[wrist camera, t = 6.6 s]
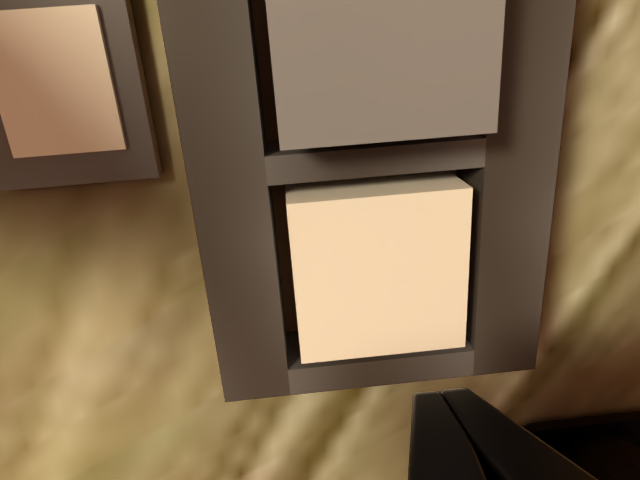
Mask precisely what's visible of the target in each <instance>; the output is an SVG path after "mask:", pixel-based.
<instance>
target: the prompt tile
mask: <svg viewBox="0 0 640 480" xmlns="http://www.w3.org/2000/svg"><path fill="white" fill-rule="evenodd" d="M162 174H163V171H162V166H161V161H160V156H159V150H158V145H157V140H156V134H155V129H154V124H153V118H152V113H151V108H150V103H149V97H148V92H147V87H146V81H145V76H144V71H143V65H142V60H141V55H140V50H139V44H138V39H137V34H136V28H135V23H134V18H133V12H132V7H131V2H130V0H0V191H8V190H19V189H31V188H43V187H55V186H67V185H79V184H91V183H103V182H114V181H126V180H138V179H150V178H159V177H160V176H161V175H162Z"/></svg>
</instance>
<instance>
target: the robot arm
mask: <svg viewBox="0 0 640 480" xmlns="http://www.w3.org/2000/svg"><path fill="white" fill-rule="evenodd" d="M408 480H640V411H637V412H628V413H620V414H611V415H602V416H593V417H584V418H575V419H566V420H557V421H549V422H540V423H532V424H528V425H526V426H524V427H522V426H520V425H519V424H518V423H516V422H515V421H513V420H512V419H510V418H509V417H508V416H506V415H505V414H503V413H502V412H500V411H499V410H498V409H496V408H495V407H493V406H492V405H490V404H489V403H488V402H486V401H485V400H483V399H482V398H481V397H479V396H478V395H476V394H475V393H473V392H472V391H471V390H469V389H467V388H454V389H445V390H442V391H441V392H438V391H427V392H418V393H415V394H414V395H413V403H412V419H411V436H410V452H409V468H408Z"/></svg>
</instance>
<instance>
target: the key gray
mask: <svg viewBox="0 0 640 480" xmlns="http://www.w3.org/2000/svg"><path fill="white" fill-rule="evenodd" d="M265 2H266V12H267V22H268V32H269V43H270V53H271V63H272V73H273V84H274V94H275V104H276V114H277V125H278V135H279V145H280V151H283V150H295V149H307V148H319V147H331V146H343V145H355V144H368V143H380V142H392V141H404V140H416V139H428V138H440V137H452V136H464V135H477V134H489V133H497V127H498V111H499V96H500V80H501V65H502V49H503V33H504V18H505V2H506V0H265Z"/></svg>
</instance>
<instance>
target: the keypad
mask: <svg viewBox="0 0 640 480" xmlns="http://www.w3.org/2000/svg"><path fill="white" fill-rule="evenodd" d="M157 5H158V11H159V17H160V23H161V29H162V34H163V40H164V46H165V52H166V58H167V64H168V70H169V75H170V81H171V87H172V93H173V99H174V105H175V111H176V116H177V122H178V128H179V134H180V140H181V146H182V152H183V157H184V163H185V169H186V175H187V181H188V187H189V193H190V198H191V204H192V210H193V216H194V222H195V228H196V234H197V239H198V245H199V251H200V257H201V263H202V269H203V275H204V280H205V286H206V292H207V298H208V304H209V310H210V316H211V321H212V327H213V333H214V339H215V345H216V351H217V357H218V362H219V368H220V374H221V380H222V386H223V392H224V398H225V402H231V401H240V400H250V399H259V398H268V397H278V396H287V395H296V394H306V393H315V392H325V391H334V390H343V389H353V388H362V387H371V386H381V385H390V384H399V383H409V382H418V381H427V380H437V379H446V378H455V377H465V376H474V375H483V374H493V373H502V372H511V371H521V370H530V369H535V365H536V356H537V347H538V338H539V329H540V320H541V311H542V302H543V294H544V285H545V276H546V267H547V258H548V249H549V240H550V231H551V222H552V213H553V204H554V195H555V186H556V177H557V169H558V160H559V151H560V142H561V133H562V124H563V115H564V106H565V97H566V88H567V79H568V70H569V61H570V53H571V44H572V35H573V26H574V17H575V8H576V0H506V2H505V18H504V33H503V49H502V65H501V80H500V96H499V111H498V127H497V133H489V134H477V135H464V136H452V137H440V138H428V139H416V140H404V141H392V142H380V143H368V144H355V145H343V146H331V147H319V148H307V149H295V150H283V151H280V145H279V135H278V125H277V114H276V104H275V94H274V84H273V73H272V63H271V53H270V43H269V32H268V22H267V12H266V2H265V0H157ZM446 170H448V171H450V172H451V173H453V174H454V175H455V176H457V177H458V178H460V179H461V180H462V181H464V182H465V183H467V184H468V185H469V186H471V187H472V188H473V197H472V217H471V238H470V259H469V279H468V300H467V321H466V341H465V347H459V348H450V349H440V350H430V351H421V352H411V353H401V354H392V355H382V356H373V357H363V358H353V359H344V360H334V361H325V362H315V363H305V364H301V353H300V343H299V333H298V323H297V312H296V302H295V292H294V281H293V271H292V261H291V250H290V240H289V230H288V219H287V209H286V193H285V184H295V183H307V182H318V181H330V180H342V179H353V178H365V177H377V176H388V175H400V174H411V173H423V172H435V171H446Z"/></svg>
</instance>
